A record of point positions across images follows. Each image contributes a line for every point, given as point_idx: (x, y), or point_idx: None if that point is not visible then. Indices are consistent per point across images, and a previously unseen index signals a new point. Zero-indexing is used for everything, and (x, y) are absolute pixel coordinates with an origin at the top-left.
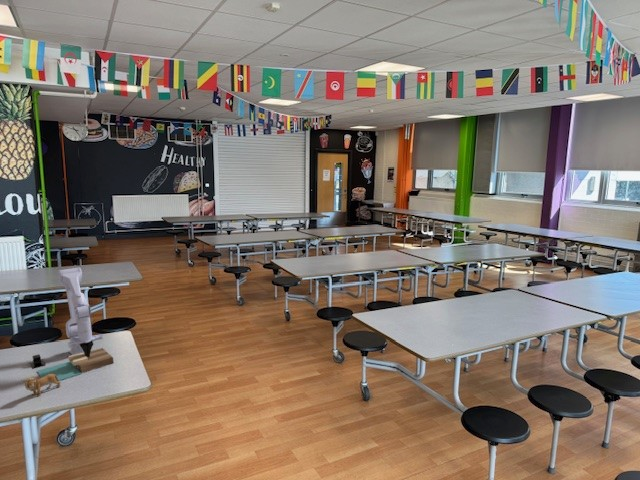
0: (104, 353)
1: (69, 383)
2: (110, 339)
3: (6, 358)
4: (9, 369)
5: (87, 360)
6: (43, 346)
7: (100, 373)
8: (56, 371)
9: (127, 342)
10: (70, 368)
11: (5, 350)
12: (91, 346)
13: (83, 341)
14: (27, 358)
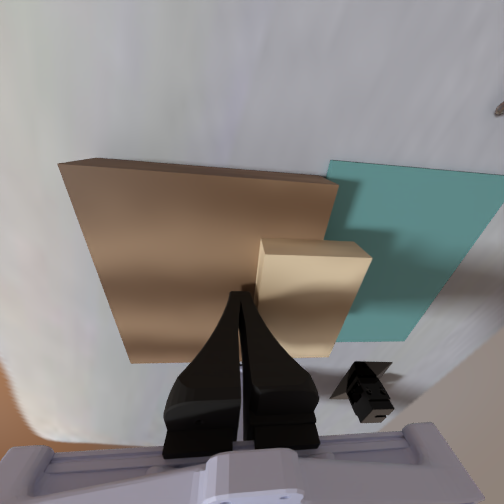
0: (127, 293)
1: (468, 51)
2: (98, 415)
3: None
4: (419, 389)
5: (266, 244)
6: None
7: (231, 20)
8: (379, 289)
9: (15, 369)
10: None
11: None
12: (202, 361)
13: (321, 501)
14: (349, 416)
